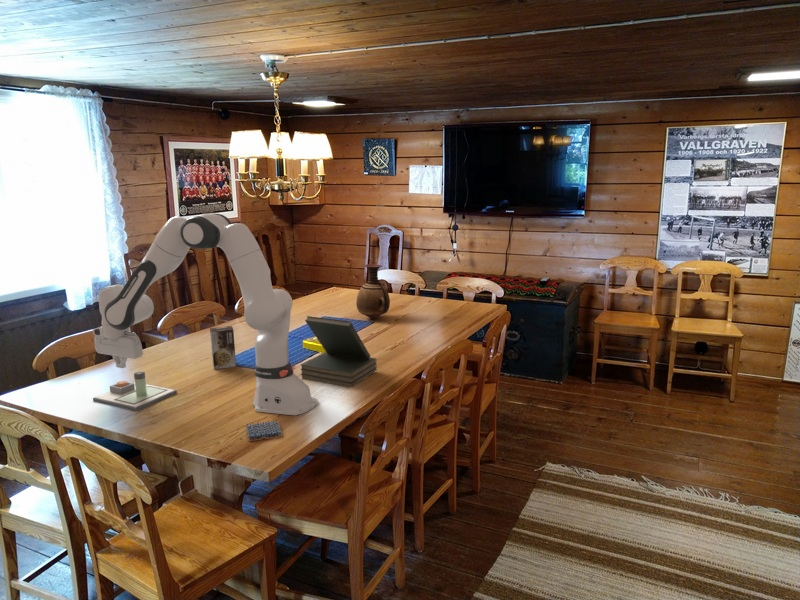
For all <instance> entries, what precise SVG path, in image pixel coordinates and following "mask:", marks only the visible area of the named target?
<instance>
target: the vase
mask: <svg viewBox="0 0 800 600" xmlns="http://www.w3.org/2000/svg"><path fill="white" fill-rule="evenodd" d="M364 267H365V268H366V269H367V271H368V279H367V281H366V283H364V284H362V286H361V287H360V289H359V290H358V293H357V297H356V310H357V311H358V313H359V314H362V316H366V317H368V318H370V319H371V318H375V319H376V318H378V317H380V316H382V315H385V314H387V313H388V311H389V310H390V305H391V300H390V294H389V291H388V288H387V287H386V286H385V283H382V282H380V281H379V276H378V272H379V269H380V268H381V267H383V265H381V264H375V263H370V264H369V263H368V264H364Z"/></svg>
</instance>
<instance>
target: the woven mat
mask: <svg viewBox="0 0 800 600" xmlns="http://www.w3.org/2000/svg"><path fill="white" fill-rule="evenodd" d="M279 422H280V421H278V420H275V421H274V420H272V421H269V420H268V421H265V422H264V421H263V422H260V423H259V422H257V423H255V424H254V422H252V423H250V424H249V423H247V424H246V426H245V430H246V431H245V433H246V434H247V436H246V437H247V439H246V440H247V441H248V442H255V441H262V440H267V439H274V438H281V437H283V436H284V435H283V434H282V433H283V432H282V430H281V429H282V428H281V426H280V424H279Z"/></svg>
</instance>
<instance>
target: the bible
mask: <svg viewBox="0 0 800 600" xmlns="http://www.w3.org/2000/svg"><path fill="white" fill-rule="evenodd" d="M304 321H305V322H306V324H307V326H308V327H309V329H310V330H311V332H312V333H313V335H314V336H316V337H317V339H318V340H319V342H320V343H321V345H322V346H323V348H324V349H325V351H326V352H325V353H323V354H322V353H320V354H319V355H317V356H314V357H313V358H311V359H308V360H306V361H305V362H303V363H301V364H300V366H301V368H300V371H301V373H300V375H301V380H306V381H307V380H308V381H313V382H319V383H324V384H329V385H335V386H340V387H345V388H350V387H352V388H353V387H355V386H357V385H358V384H360V383H361V382H363V381H364V380H366V379H367V378H366V377H368V376H369V375H371V374H372V373H374V372H375V371H378V370H377V358H376V357H371V354H370V353H369V351H368V349H367V348H366V347H367V346H365V343H363V341H362V339H361V338H360V336H359V333H358V332H357V331H356V329H355V327H354V325H353V323H352V322H351V321H350V320H341V319H335V318H334V319H333V318H326V317H320V316H319V317H317V316H311V315H309V316H308V315H307V316H306V319H304ZM374 374H375V373H374ZM372 375H373V374H372ZM372 375H371V376H372ZM369 377H370V376H369ZM369 377H368V378H369ZM365 378H366V379H365ZM363 379H364V380H363ZM362 380H363V381H362ZM360 381H361V382H360ZM359 382H360V383H359ZM354 385H355V386H354Z"/></svg>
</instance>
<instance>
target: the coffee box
mask: <svg viewBox="0 0 800 600" xmlns="http://www.w3.org/2000/svg"><path fill="white" fill-rule="evenodd" d="M209 331H210V335H209V336H210V344H211V357H212V359H211V360H212V367H213V370H219V369H227V368H228V369H229V368H234V367H235V368H236V367H237V359H236V357H237V356H236V348H235V335H234V333H235V331H234V328H233V326H232V325H229V326H226V325H225V326H218V327H210V328H209Z"/></svg>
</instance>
